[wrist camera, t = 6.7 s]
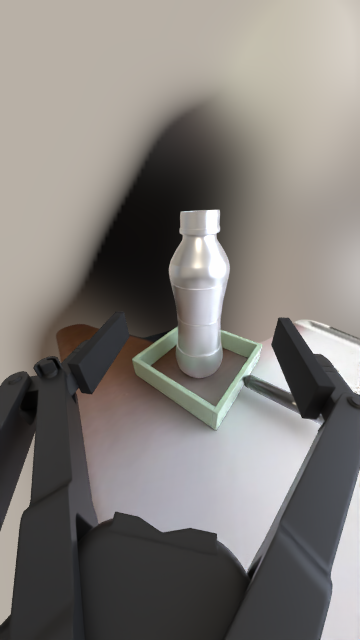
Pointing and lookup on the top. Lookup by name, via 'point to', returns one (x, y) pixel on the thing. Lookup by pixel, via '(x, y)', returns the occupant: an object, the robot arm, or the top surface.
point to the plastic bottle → (199, 292)
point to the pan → (217, 414)
